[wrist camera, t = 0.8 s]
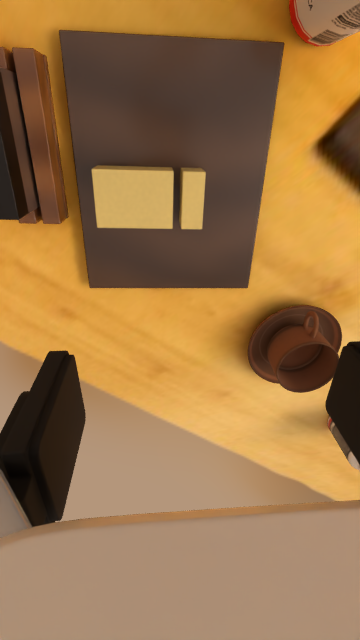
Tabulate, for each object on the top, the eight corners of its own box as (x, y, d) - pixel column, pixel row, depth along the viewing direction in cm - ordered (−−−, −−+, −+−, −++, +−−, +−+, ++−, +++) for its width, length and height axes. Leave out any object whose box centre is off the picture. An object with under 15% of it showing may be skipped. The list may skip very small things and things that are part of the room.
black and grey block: (11, 75, 27) (-48, 54, 19) (34, 76, 27) (-17, 55, 19) (34, 202, 32) (-5, 226, 24) (53, 202, 32) (20, 226, 24)
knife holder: (-4, 53, 27) (-21, 45, 24) (46, 56, 27) (34, 48, 24) (28, 216, 33) (18, 223, 31) (68, 216, 34) (61, 224, 31)
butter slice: (180, 167, 31) (182, 171, 28) (201, 168, 31) (205, 171, 28) (179, 221, 33) (181, 229, 31) (198, 221, 33) (202, 229, 31)
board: (62, 33, 26) (58, 29, 25) (280, 45, 28) (284, 42, 27) (91, 283, 37) (89, 288, 36) (245, 284, 39) (247, 288, 38)
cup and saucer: (237, 313, 41) (249, 341, 35) (333, 288, 40) (360, 312, 34) (251, 383, 47) (264, 416, 41) (335, 362, 46) (359, 393, 40)
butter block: (96, 165, 30) (91, 168, 28) (172, 167, 31) (173, 170, 28) (101, 220, 33) (96, 227, 30) (171, 221, 33) (172, 229, 31)
